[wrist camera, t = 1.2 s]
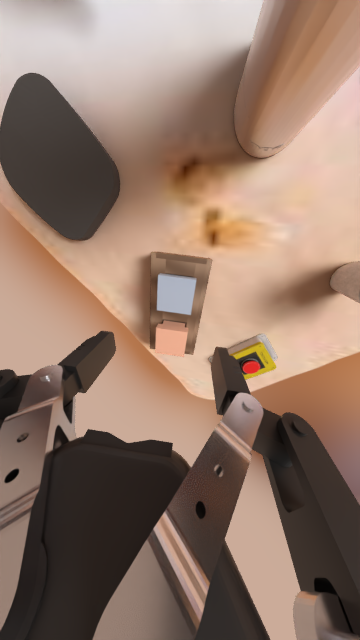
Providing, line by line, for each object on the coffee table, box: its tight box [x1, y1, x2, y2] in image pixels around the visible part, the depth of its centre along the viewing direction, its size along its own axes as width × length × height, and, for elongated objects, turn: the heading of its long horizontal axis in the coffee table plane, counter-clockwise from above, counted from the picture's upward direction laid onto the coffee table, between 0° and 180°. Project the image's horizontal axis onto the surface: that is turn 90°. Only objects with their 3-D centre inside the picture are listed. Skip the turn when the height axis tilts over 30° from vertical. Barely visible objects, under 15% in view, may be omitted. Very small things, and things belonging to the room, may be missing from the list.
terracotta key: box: [155, 320, 188, 357], centre depth 27 cm, size 6×6×4 cm
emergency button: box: [209, 334, 278, 380], centre depth 34 cm, size 9×4×15 cm
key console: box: [150, 252, 212, 355], centre depth 29 cm, size 20×10×4 cm, turn 174°
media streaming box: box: [0, 73, 120, 240], centre depth 21 cm, size 15×15×3 cm
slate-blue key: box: [157, 273, 196, 315], centre depth 23 cm, size 6×6×4 cm
